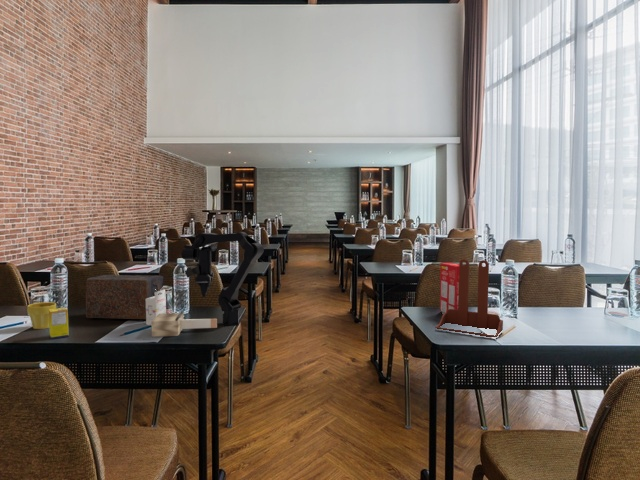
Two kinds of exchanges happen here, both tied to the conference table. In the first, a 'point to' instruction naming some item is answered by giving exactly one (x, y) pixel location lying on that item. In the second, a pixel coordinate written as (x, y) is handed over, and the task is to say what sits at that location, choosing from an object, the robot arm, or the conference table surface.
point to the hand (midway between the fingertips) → (205, 294)
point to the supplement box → (58, 323)
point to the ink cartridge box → (155, 306)
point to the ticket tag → (198, 323)
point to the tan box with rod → (167, 324)
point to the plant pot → (40, 314)
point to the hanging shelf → (481, 316)
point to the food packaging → (449, 286)
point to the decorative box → (120, 295)
